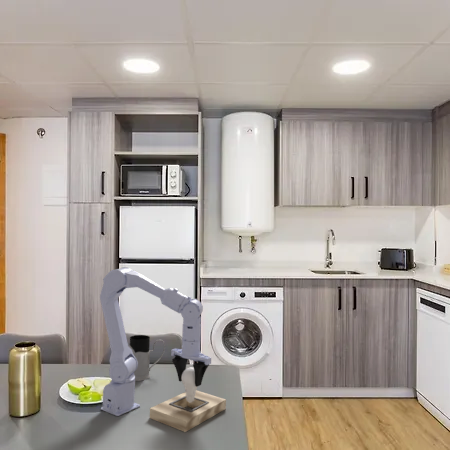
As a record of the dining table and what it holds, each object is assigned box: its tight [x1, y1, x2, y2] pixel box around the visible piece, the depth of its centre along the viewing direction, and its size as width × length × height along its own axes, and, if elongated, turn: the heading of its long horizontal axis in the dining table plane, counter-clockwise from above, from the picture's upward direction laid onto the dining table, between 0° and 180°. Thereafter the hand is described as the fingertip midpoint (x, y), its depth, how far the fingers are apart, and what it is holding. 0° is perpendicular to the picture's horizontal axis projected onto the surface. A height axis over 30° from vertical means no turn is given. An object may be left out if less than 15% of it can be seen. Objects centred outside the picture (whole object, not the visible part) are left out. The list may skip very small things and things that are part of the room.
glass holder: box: [128, 334, 166, 382], centre depth 165 cm, size 9×14×15 cm, turn 108°
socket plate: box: [149, 389, 227, 433], centre depth 133 cm, size 20×14×3 cm
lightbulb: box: [181, 366, 198, 403], centre depth 134 cm, size 6×6×11 cm
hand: (189, 382), depth 133 cm, fingers closed on lightbulb, 6 cm apart
